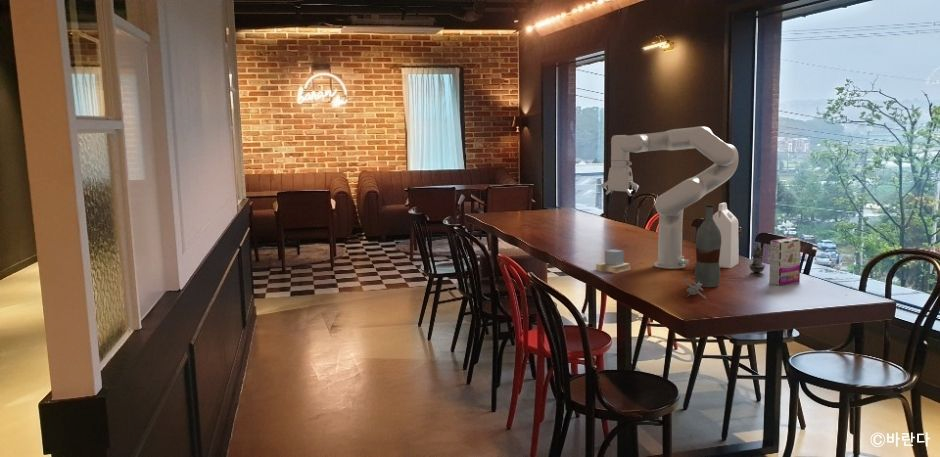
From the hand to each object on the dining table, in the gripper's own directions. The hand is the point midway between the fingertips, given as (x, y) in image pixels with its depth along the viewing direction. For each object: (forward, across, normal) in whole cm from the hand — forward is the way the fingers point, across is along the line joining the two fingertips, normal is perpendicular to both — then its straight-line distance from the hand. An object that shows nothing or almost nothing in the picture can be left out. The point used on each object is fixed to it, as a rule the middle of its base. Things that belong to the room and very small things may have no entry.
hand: (619, 204), depth 307 cm
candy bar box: (+26, -68, 0) cm, 73 cm away
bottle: (+26, -47, +20) cm, 57 cm away
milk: (+26, -36, -22) cm, 50 cm away
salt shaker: (+26, -55, -10) cm, 62 cm away
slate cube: (+23, -6, +15) cm, 28 cm away
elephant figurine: (+26, -50, +42) cm, 70 cm away
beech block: (+26, -5, +15) cm, 30 cm away
